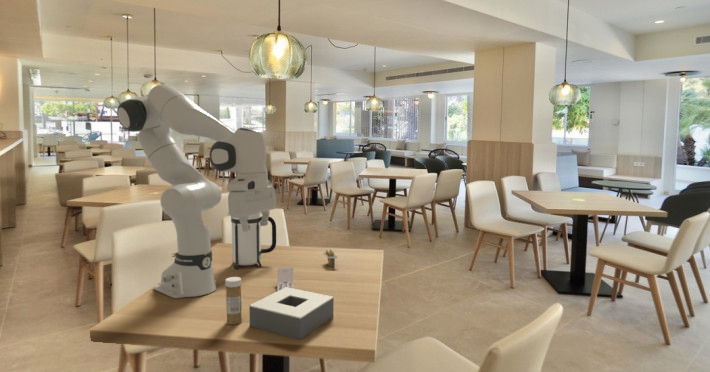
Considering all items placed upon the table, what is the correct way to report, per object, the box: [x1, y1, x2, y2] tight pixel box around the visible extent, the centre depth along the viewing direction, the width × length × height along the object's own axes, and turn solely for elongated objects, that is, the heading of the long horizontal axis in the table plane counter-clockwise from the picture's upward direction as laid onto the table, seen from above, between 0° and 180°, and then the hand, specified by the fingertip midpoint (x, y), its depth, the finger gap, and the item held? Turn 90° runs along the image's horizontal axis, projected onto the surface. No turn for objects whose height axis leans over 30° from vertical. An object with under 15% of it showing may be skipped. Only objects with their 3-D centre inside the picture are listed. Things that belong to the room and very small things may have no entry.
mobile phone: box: [276, 267, 295, 292], centre depth 159 cm, size 6×6×25 cm
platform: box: [323, 248, 338, 268], centre depth 194 cm, size 12×18×7 cm, turn 20°
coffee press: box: [226, 211, 277, 270], centre depth 191 cm, size 17×16×30 cm
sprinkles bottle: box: [224, 276, 243, 326], centre depth 134 cm, size 5×5×14 cm
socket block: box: [248, 287, 335, 340], centre depth 135 cm, size 18×18×6 cm
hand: (255, 228), depth 134 cm, fingers open, 8 cm apart
